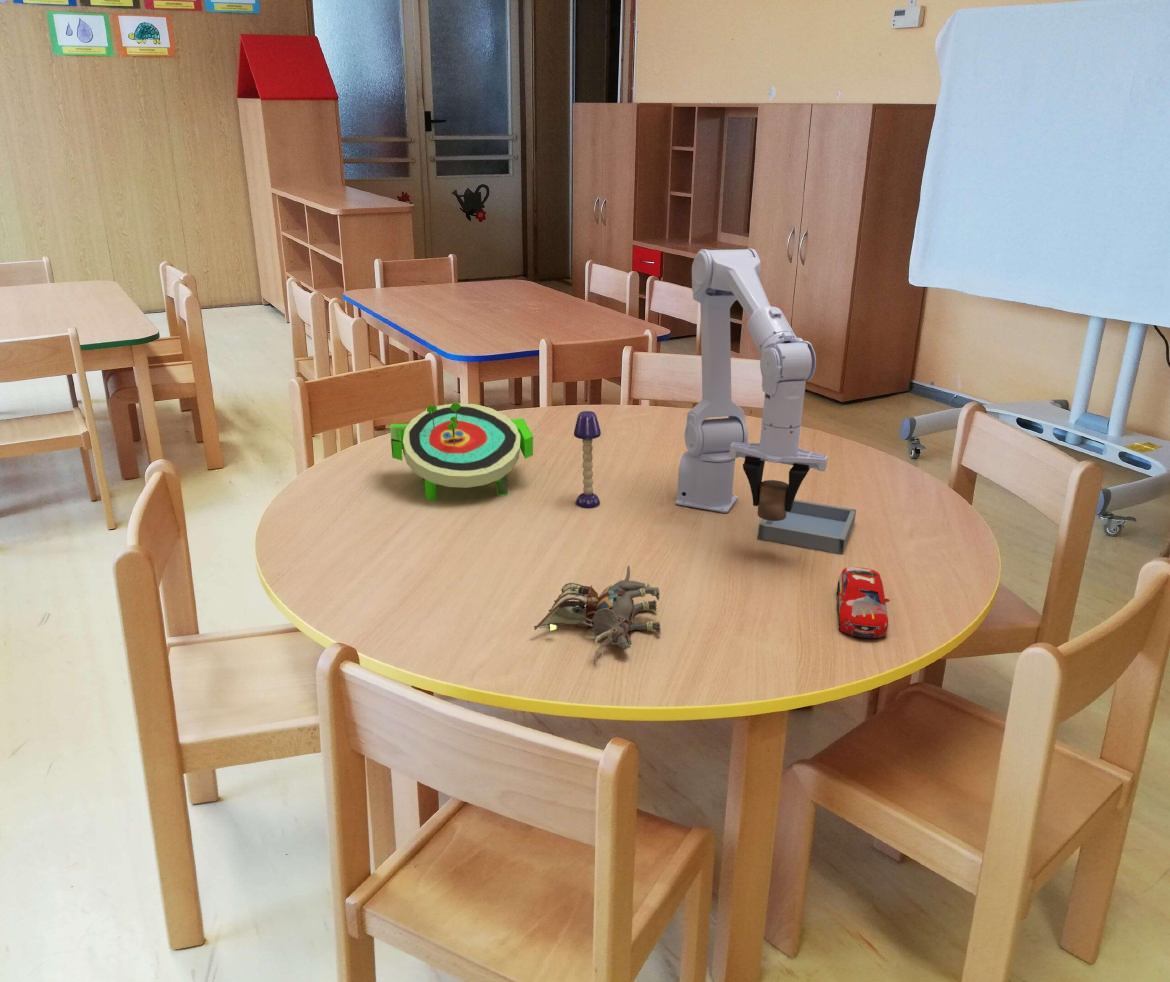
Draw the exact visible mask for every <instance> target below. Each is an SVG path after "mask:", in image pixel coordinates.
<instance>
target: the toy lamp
mask: <svg viewBox="0 0 1170 982" xmlns="http://www.w3.org/2000/svg"><path fill="white" fill-rule="evenodd" d="M601 435H602V432H601V428H600V424H599V420H598V417H597V414H596V412H595V411H592V410H591V411H590V410H584V411H581V412H579V413H578V414H577V418H576V422H575V427H574V431H573V436H574V437H575V438H577V439H579V440H581V441H582V444H583V445H582V452H583V453H582V460H583V461H582V468H583V470H582V476H583V478H582V479H583V480H582V484H583V488H582V489H583V490H582V491H583V493H580V494H579V495H578V496H577V498H576V501H575V505H577V506H578V507H581V508H584V509H592V508H596V507H599V506H600V504H601V501H600V498H599V496H598V495H597V494H595V493H594V488H593V487H594V486H593V484H594V480H593V476H594V472H593V466H594V465H593V461H592V460H593V445H592V444H593V440H595V439H598V438H599V437H600V436H601Z"/></svg>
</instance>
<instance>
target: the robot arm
mask: <svg viewBox="0 0 1170 982" xmlns="http://www.w3.org/2000/svg"><path fill="white" fill-rule="evenodd" d="M761 264H762V262H761V259H760V255H758V253H757V251H756V250H755V249H754V248H749V247H748V248H746V249H705V248H701V249H700V250H698V252H697V253H696V255H695V256H694V259H693V262H692V265H691V288H692V289H691V291H692V299H693V301H696V302H698V303H700V304H699V305H700V307H699V308H700V341H701V342H700V344H701V345H700V346H701V350H700V351H701V352H700V353H701V385H702V386H701V388H702V389H701V390H702V391H701V392H702V397H701V398H702V399H701V400H699V402H698V403H697V404H696V405H695V406H694V407H692V408H691V409H690V410H689V411H688V412H687V413H686V414H687V415H686V424H685V425H686V426H685V429H684V442H685V443H684V444H685V447H686V451H684V452H683V454H682V455H681V457H680V461H679V467H678V475H677V476H678V477H677V493H676V501H675V505H679V506H682V507H683V506H684V507H688V508H689V507H690V508H695V509H701V510H702V509H703V510H706V511H712V512H718V513H725V514H726V513H728V512H730V510H731V508H732V507H733V506H734V505H735V503H736V502H737V500H738V499H739V496H738V495H736V494H733V488H734V479H735V477H734V475H735V467H736V466H735V465H736V459H738V458H744V461H743V464H742V469H743V472H744V474H745V476H746V478H747V481H748V484H749V487H750V492H751V497H752V505H753V507H758V503H759V493H760V483H761V482H763V475H764V470H765V469H764V468H765V462H768V463H774V464H781V465H788V466H792V467H791V468H790V469H789V470H788V496H787V501H786V507H785V511H787V512H790V511H791V509H792V507H793V502H794V499H795V498H796V495H797V494H798V491H799V489H800V486H801V485H802V483H803V481H804V479H806V476H807V475H808V473H809V471H810V469H815V470H817V471H819V472H825V471H826V469H827V468H828V460H829V455H826V454H820V453H816V452H812V451H809V450H805V449H801V448H799V446H800V444H799V443H800V435H801V427H802V419H803V418H802V417H803V410H804V401H805V400H804V399H805V393H806V392H805V391H806V382H809V381H810V380H812V378H813V376H814V375H815V372H816V367H817V357H816V352H815V350H814V347H813V344H812V343H811V342H810V341H808V340H803V339H802V337H797V335H796V334H795V332H794V330H793V329H792V327H791V325H790V324H789V321H788V319H787V318H786V316H785V314H784V313H783V311H782V310H781V309H780V308H779V307H776V306H771V304H770V301H769V299H768V297H767V294H766V291H765V290H764V288H763V285H762V283H761V282H762V281H761V280H760V278H761V272H762V271H761V270H762V266H761ZM736 301H738V303H739V304H740V306H741V307H742V309H743V310H744V312H745V313H746V315H747V316H748V318H749V320H748V321H747V331H748V333H749V335H750V337H751V339H752V341H753V343H754V345H755V346H756V349H757V350H758V352H759V354H760V356H761V357H760V358H759V359H760V360H759V368H760V369H759V370H760V374H761V388H762V389H761V390H762V392H764V399H763V406H762V407H763V409H762V416H761V417H762V419H761V429H760V439H759V443H756V442H755V443H754V442H749V441H748V439H749V431H748V427H747V424H746V423H747V422H746V418H745V417H746V415H745V410H743V408H741V407H740V406H739V405H738V404H737V403H735V402H734V401H733V400H732V360H731V359H732V357H731V354H732V353H731V352H732V351H731V347H732V346H731V307H732V306H733V305H734V303H735V302H736ZM722 417H723V418H722ZM710 418H711V419H710ZM795 500H796V499H795Z"/></svg>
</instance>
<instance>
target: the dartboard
mask: <svg viewBox="0 0 1170 982" xmlns="http://www.w3.org/2000/svg"><path fill="white" fill-rule="evenodd" d="M389 430H390V443H391V444H390V445H391V458H392V459H396V460H399V461H403V457H404V460H405V461H406V462H405V463H406V465H407V466H408V467H409V468H410V469H411V470H412V471H413V472H414V474H416V475H417V476H419V477H421V478H422V480H423V482H424V492H425V493H424V496H425V497H424V498H425V500H427V501H434V500H437V499H438V489H437V486H438V485H440V486H443V487H448V488H462V489H463V488H465V489H466V488H474V487H479V486H480V487H481V486H486V485H488V484H491V483H493V482H494V483H495V482H496V485H495V487H496V488H495V489H496V495H497V496H499V497H506V496H507V495H509V494H508V491H509V490H508V489H509V487H508V486H509V484H508V483H509V482H508V474H509V473H510V472H511V471H512V470H513V469H514V468H515V466H516V464H517V463H518V461H519V458H520V452H521V453H522V455H523V457H524V459H525V460H526V459H528V458H530V457H533V456H534V435H533V433H532V431H531V429H530V428H529V426H528V423H527V421H526V420H525V419H524V418H509V417H508V416H507V415H506V414H504V413H502V412H500V411H497V410H496V409H494V408H492V407H488V406H483V405H479V404H477V403H461V402H460V403H459V402H456V401H455V402H454V403H449V404H448V403H447V404H439V405H437V406H436V405H434V404H433V403H431V405H428V407H427V408H426V410H423V411H422V412H420V413H419V414H418V415H417V416H415V417H413V418H412V419H411V420H410V422H409V423H393V424H391V423H390V424H389Z"/></svg>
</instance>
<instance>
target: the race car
mask: <svg viewBox="0 0 1170 982" xmlns="http://www.w3.org/2000/svg"><path fill="white" fill-rule="evenodd" d="M890 601H891V600H890V598H886V597H885V590H884V583H883V580H882V578H881V574H880V573H879V572H878V571H876V570H875V569H871V568H866V567H858V566H847V567H845V568H843V569H842V570H841V573H840V575H839V577H838V580H837V587H836V606H837V621H838V625H837V626H838V630H839V631H841V632H844V633H846V634H847V635H850V636H855V637H859V638H866V639H878V638H881V637H885V636H887V632H888V626H889V617H888V611H887V609H888V608H887V603H889V602H890Z"/></svg>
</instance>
